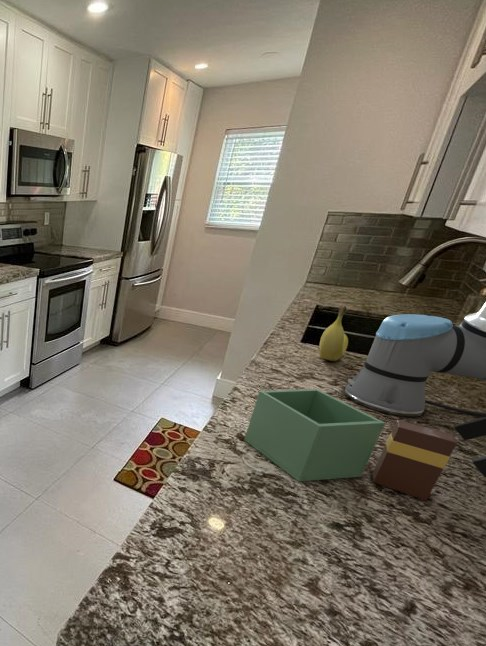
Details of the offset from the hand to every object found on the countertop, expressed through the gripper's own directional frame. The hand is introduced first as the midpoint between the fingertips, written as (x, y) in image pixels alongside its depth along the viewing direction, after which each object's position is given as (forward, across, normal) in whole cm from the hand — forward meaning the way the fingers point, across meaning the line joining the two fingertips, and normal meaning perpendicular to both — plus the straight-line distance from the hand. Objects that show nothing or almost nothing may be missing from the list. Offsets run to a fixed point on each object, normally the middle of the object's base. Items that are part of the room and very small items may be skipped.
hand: (467, 449), depth 68 cm
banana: (+19, -74, -4) cm, 77 cm away
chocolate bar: (+11, 0, +4) cm, 12 cm away
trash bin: (+22, +1, -7) cm, 23 cm away
